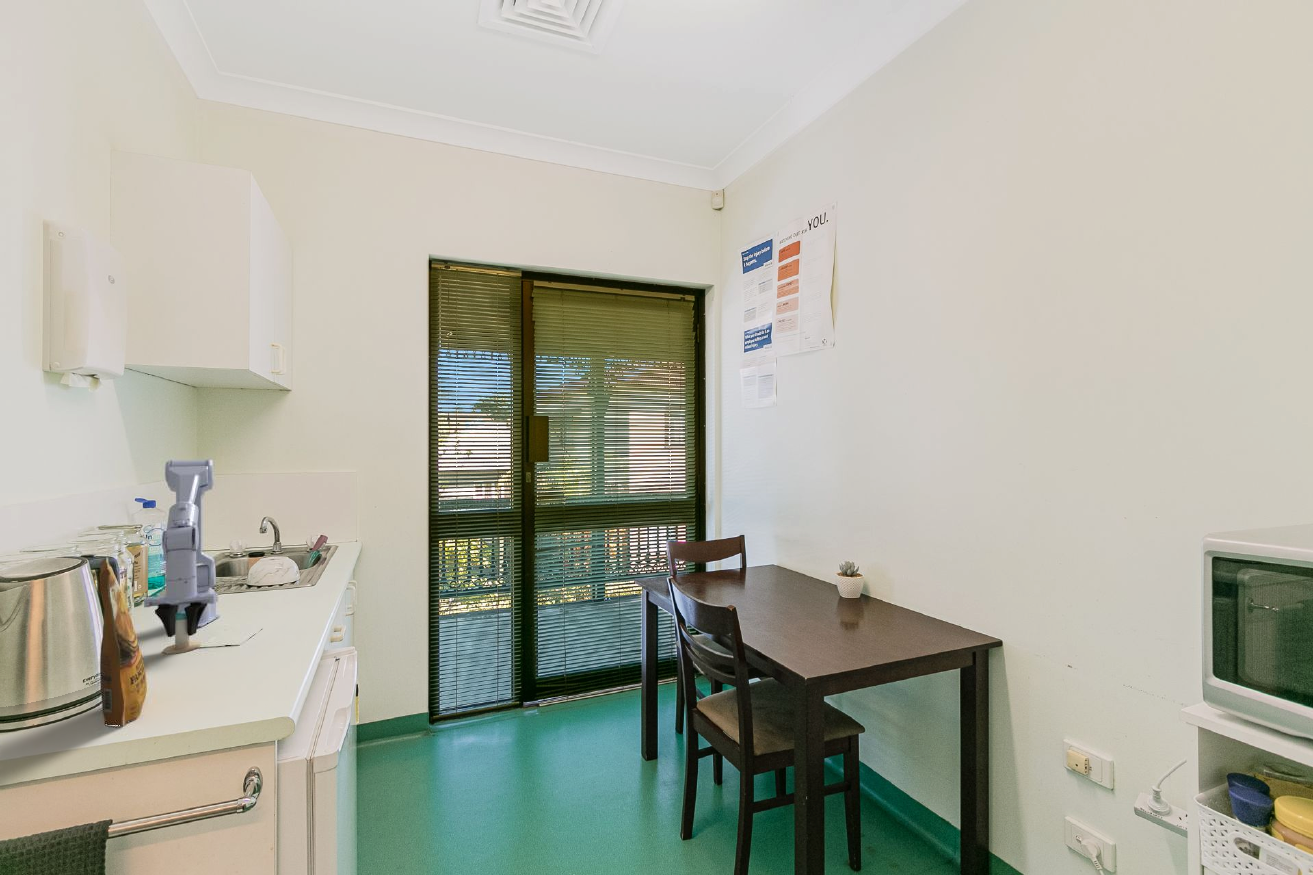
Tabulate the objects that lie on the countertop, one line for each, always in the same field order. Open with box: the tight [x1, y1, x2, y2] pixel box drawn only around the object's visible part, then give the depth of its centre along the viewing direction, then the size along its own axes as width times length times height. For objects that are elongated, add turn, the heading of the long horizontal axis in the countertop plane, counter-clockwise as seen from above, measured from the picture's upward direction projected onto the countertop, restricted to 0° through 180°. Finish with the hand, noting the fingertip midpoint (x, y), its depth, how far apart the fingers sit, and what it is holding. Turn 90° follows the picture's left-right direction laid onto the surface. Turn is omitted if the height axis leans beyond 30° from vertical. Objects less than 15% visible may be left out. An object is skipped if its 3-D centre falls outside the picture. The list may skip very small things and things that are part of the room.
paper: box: [197, 630, 250, 649], centre depth 148 cm, size 12×9×1 cm
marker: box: [174, 612, 190, 649], centre depth 141 cm, size 3×3×8 cm
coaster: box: [162, 641, 202, 655], centre depth 141 cm, size 7×7×1 cm
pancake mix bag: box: [99, 556, 148, 727], centre depth 109 cm, size 7×19×28 cm, turn 36°
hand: (182, 635), depth 141 cm, fingers open, 4 cm apart
